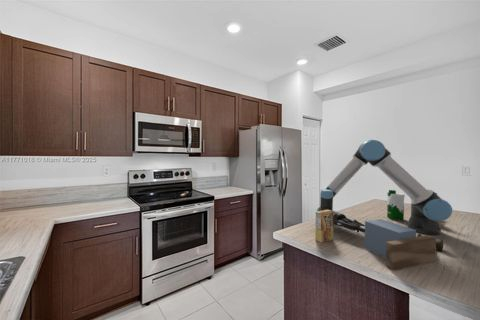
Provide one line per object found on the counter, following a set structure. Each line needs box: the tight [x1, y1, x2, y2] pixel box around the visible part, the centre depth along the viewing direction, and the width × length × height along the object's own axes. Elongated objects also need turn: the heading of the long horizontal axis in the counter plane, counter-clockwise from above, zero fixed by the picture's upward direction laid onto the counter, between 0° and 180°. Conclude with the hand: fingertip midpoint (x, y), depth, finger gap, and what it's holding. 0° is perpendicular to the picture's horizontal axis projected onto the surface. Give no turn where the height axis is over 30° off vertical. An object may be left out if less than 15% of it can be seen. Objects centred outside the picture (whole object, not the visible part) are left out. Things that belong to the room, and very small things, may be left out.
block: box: [364, 218, 417, 259], centre depth 95 cm, size 16×10×13 cm, turn 17°
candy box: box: [314, 210, 334, 243], centre depth 110 cm, size 9×4×15 cm, turn 116°
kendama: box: [416, 232, 444, 252], centre depth 98 cm, size 6×10×20 cm
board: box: [385, 234, 437, 271], centre depth 86 cm, size 3×24×10 cm, turn 107°
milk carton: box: [386, 189, 406, 221], centre depth 147 cm, size 9×9×20 cm
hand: (371, 233), depth 103 cm, fingers closed
